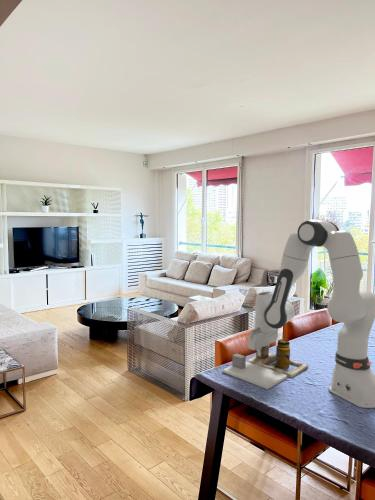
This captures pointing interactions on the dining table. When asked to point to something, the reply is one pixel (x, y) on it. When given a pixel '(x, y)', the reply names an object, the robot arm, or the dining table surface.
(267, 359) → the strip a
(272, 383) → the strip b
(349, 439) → the dining table surface
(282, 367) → the condiment
